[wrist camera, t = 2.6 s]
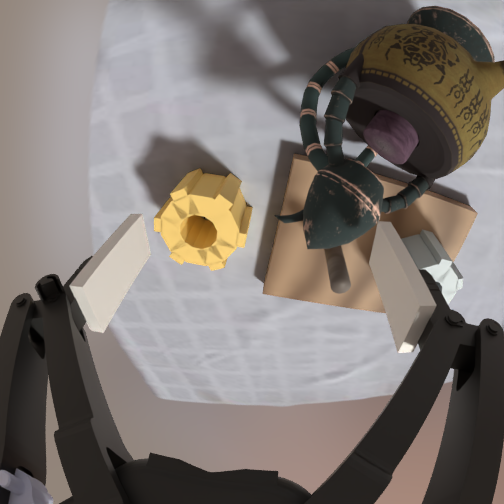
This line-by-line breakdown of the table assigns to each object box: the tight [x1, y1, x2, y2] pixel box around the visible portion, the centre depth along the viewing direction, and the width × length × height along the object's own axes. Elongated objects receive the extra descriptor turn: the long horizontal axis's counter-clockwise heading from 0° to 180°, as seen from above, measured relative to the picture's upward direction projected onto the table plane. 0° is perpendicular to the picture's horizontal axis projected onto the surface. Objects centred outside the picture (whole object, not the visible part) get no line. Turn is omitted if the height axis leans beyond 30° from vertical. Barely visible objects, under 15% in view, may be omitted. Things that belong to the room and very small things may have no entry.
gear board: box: [263, 153, 478, 313], centre depth 31 cm, size 24×18×9 cm
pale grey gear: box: [401, 229, 463, 304], centre depth 31 cm, size 10×9×6 cm
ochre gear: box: [154, 168, 253, 271], centre depth 32 cm, size 10×9×6 cm
